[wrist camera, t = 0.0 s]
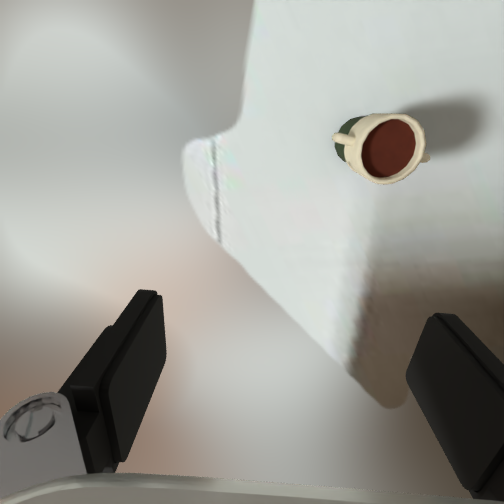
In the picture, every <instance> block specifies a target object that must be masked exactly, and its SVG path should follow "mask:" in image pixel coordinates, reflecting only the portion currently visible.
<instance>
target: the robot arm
mask: <svg viewBox="0 0 504 504" xmlns="http://www.w3.org/2000/svg"><path fill="white" fill-rule="evenodd" d="M165 361H166V339H165V327H164V313H163V299H162V296H161V295H157V292H156V291H153V290H141V289H140V290H138V291H137V292H136V294H135V295H134V297H133V298H132V300H131V301H130V302H129V304H128V305H127V306H126V308H125V309H124V311H123V312H122V313H121V315H120V316H119V318H118V319H117V320H116V322H115V323H114V325H113V326H111V325H110V326H108V327H106V328H105V329H104V331H103V332H102V333H101V335H100V336H99V337H98V339H97V340H96V342H95V343H94V344H93V345H92V347H91V348H90V349H89V351H88V352H87V353H86V355H85V356H84V358H83V359H82V360H81V362H80V363H79V364H78V366H77V367H76V368H75V370H74V371H73V372H72V374H71V375H70V376H69V378H68V379H67V380H66V382H65V383H64V384H63V386H62V387H61V389H60V390H59V391H58V392H57V393H55V392H47V393H40V394H37V395H34V396H31V397H29V398H27V399H25V400H23V401H21V402H19V403H18V404H17V405H15V406H14V407H12V408H11V409H10V410H9V411H8V412H7V413H6V414H5V415H4V416H3V417H2V418H1V420H0V504H504V364H503V363H502V362H501V361H500V360H499V359H498V358H497V357H496V356H495V355H494V354H493V353H492V352H491V351H490V350H489V349H488V348H487V347H486V346H485V345H484V344H483V343H482V341H481V340H480V339H479V338H478V337H477V336H476V335H475V334H474V333H473V332H472V331H471V330H470V329H469V328H468V327H467V326H466V325H465V324H464V323H463V322H462V321H461V320H460V319H459V317H458V316H456V315H454V314H446V313H435V314H433V316H432V317H429V318H428V319H427V322H426V324H425V326H424V329H423V331H422V334H421V336H420V339H419V341H418V344H417V346H416V349H415V351H414V354H413V356H412V359H411V361H410V364H409V366H408V369H407V371H406V381H407V383H408V385H409V387H410V389H411V391H412V393H413V395H414V396H415V398H416V400H417V402H418V404H419V406H420V408H421V410H422V412H423V413H424V415H425V417H426V419H427V421H428V423H429V425H430V426H431V428H432V430H433V432H434V434H435V436H436V438H437V439H438V441H439V443H440V445H441V447H442V449H443V451H444V453H445V455H446V456H447V458H448V460H449V462H450V464H451V466H452V467H453V470H454V471H455V473H456V475H457V477H458V479H459V481H460V483H461V484H462V486H463V487H464V488H465V489H467V490H469V492H470V494H471V495H472V497H473V499H467V498H456V497H445V496H433V495H422V494H411V493H398V492H386V491H374V490H362V489H350V488H338V487H325V486H313V485H301V484H288V483H274V482H261V481H247V480H234V479H222V478H208V477H195V476H178V475H159V474H141V473H115V471H116V469H117V467H118V464H119V462H125V460H126V459H127V457H128V454H129V452H130V449H131V447H132V444H133V442H134V439H135V437H136V434H137V432H138V429H139V427H140V424H141V422H142V419H143V417H144V414H145V412H146V409H147V407H148V404H149V402H150V399H151V397H152V394H153V392H154V389H155V386H156V384H157V382H158V379H159V377H160V374H161V372H162V369H163V366H164V364H165Z"/></svg>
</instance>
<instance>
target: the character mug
mask: <svg viewBox="0 0 504 504" xmlns="http://www.w3.org/2000/svg"><path fill="white" fill-rule="evenodd" d="M332 140H333V141H335V149H336V151H337V154H338V156H339V157H340V158H341V159H342V160H343V161H344V162H347V164H348V166H349V167H350V168H351V169H352V170H353V171H355V172H356V173H358V174H360V175H361V176H363V177H365V178H366V179H368V180H370V181H372V182H374V183H377V184H383V185H384V184H393V183H395V182H398V181H400V180H402V179H404V178H406V177H407V176H408V175H409V174H411V173H412V172H413V171H414V170H415V169H416V168H417V166H418V165H419V163H420V162H422V163H424V162H428V161H429V160H430V155H428V154H427V153H424V152H425V148H426V138H425V131H424V129H423V128H422V126H421V125H420V123H419V122H418V120H416V119H414V118H412V117H410V116H409V115H407V114H371V115H369V116H366V117H357V118H353V119H350V120H349V121H347V122H346V123H345V124H344V125H343V126H341V128H340V130H339V132H338V133H334V134H333V136H332Z"/></svg>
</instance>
